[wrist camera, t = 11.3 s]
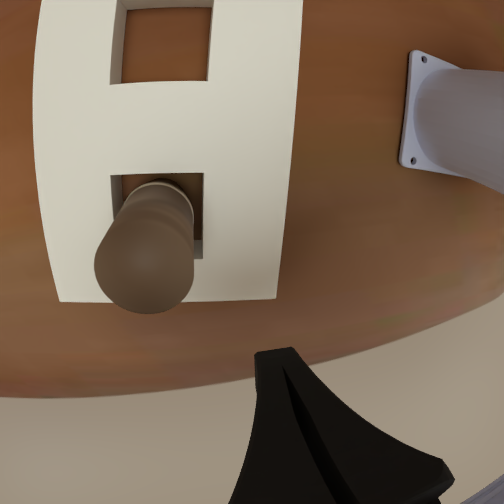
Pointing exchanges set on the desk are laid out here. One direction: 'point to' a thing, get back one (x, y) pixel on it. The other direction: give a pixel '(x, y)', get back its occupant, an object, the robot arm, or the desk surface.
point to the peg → (148, 250)
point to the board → (167, 138)
